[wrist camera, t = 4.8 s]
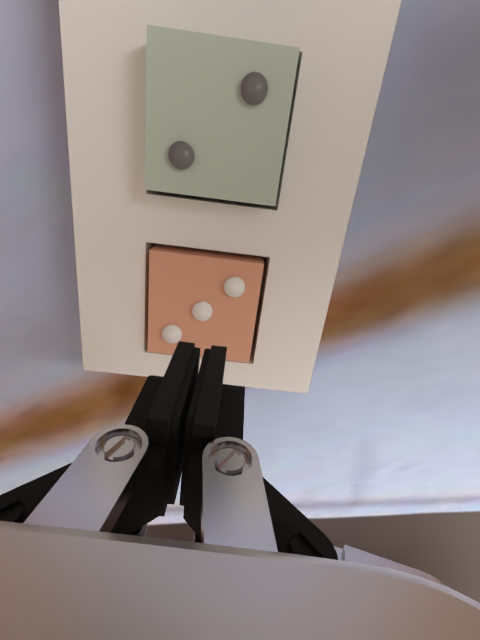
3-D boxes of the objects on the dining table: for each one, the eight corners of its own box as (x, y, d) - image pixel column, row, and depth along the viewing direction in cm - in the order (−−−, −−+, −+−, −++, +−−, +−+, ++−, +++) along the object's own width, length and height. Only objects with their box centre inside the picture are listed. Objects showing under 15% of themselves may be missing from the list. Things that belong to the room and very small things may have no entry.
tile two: (290, 66, 16) (301, 45, 13) (270, 201, 18) (276, 206, 16) (161, 47, 16) (144, 22, 13) (157, 187, 18) (143, 189, 15)
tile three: (261, 252, 21) (264, 265, 18) (248, 342, 23) (249, 364, 20) (160, 240, 20) (148, 251, 18) (157, 332, 23) (146, 353, 20)
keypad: (435, -241, 14) (484, -347, 11) (300, 368, 25) (307, 393, 22) (74, -311, 13) (29, -442, 10) (101, 347, 24) (83, 370, 21)
